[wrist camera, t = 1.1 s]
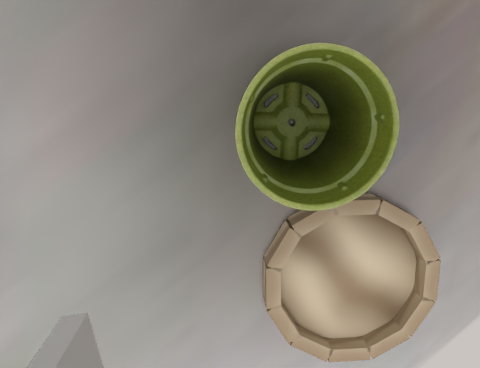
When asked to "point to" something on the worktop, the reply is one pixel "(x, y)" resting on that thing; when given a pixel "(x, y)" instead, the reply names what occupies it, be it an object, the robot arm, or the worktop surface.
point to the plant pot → (317, 126)
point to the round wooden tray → (350, 279)
